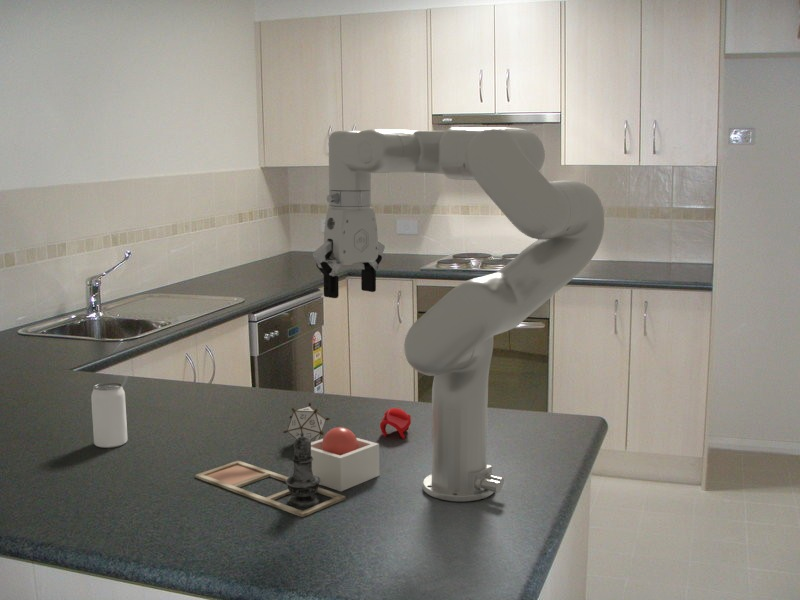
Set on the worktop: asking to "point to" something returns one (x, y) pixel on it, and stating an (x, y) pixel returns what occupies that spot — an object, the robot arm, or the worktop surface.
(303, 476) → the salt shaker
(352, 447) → the pop dome
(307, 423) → the game die
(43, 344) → the worktop surface
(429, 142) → the robot arm
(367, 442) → the dome housing
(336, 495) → the game track
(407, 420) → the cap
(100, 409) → the can
